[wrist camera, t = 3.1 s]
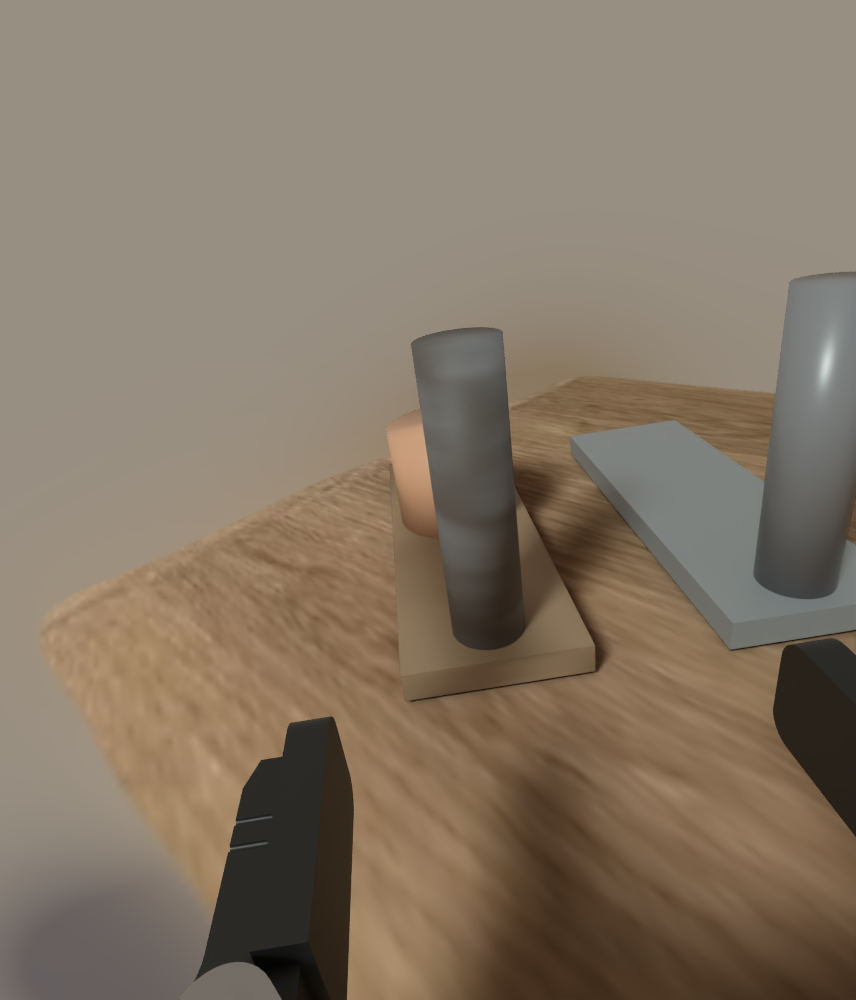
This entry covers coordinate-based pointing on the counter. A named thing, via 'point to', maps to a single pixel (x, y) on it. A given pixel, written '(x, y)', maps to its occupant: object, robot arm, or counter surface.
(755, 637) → the grey peg stand
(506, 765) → the counter surface
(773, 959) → the counter surface
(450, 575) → the peg on wooden base
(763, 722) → the counter surface
